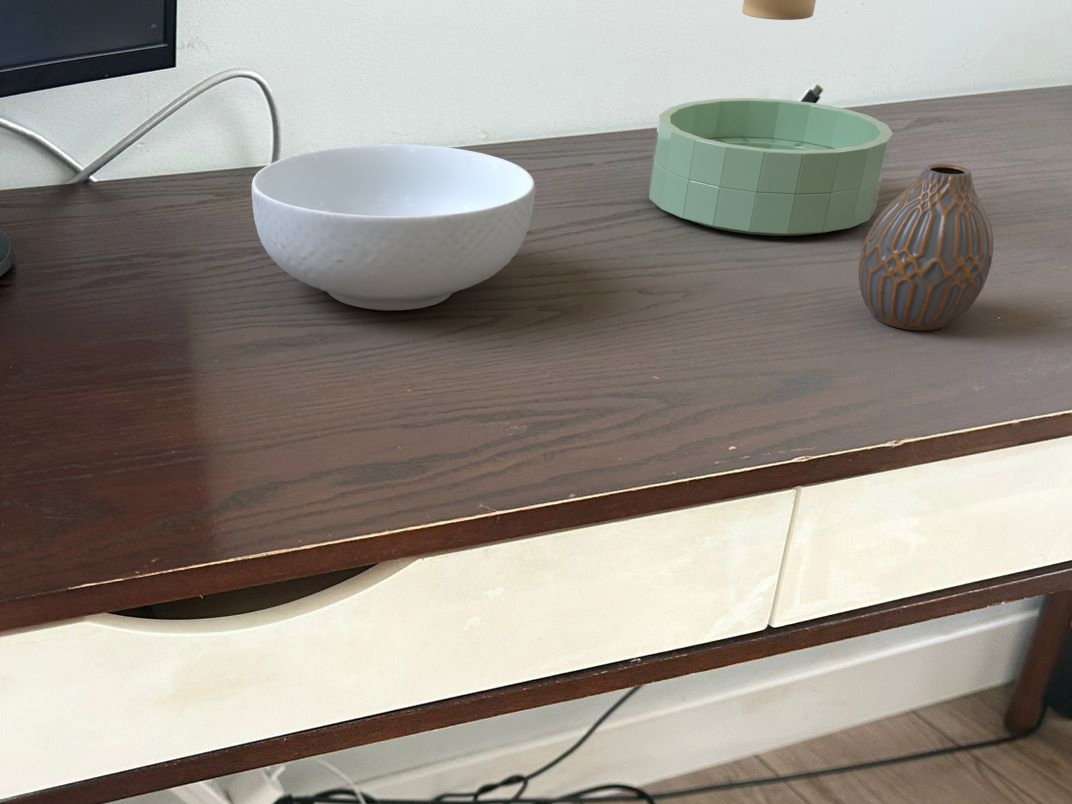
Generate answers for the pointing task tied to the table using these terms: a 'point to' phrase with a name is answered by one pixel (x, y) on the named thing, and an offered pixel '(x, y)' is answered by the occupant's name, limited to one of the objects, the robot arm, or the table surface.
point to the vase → (927, 252)
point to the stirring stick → (779, 9)
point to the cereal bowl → (392, 220)
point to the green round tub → (768, 165)
